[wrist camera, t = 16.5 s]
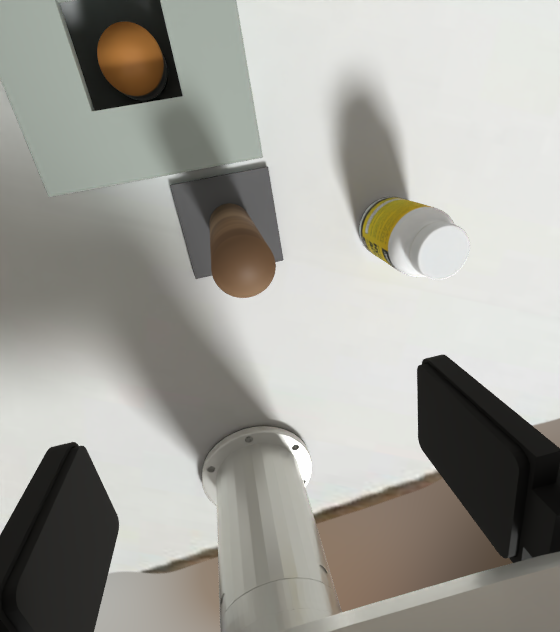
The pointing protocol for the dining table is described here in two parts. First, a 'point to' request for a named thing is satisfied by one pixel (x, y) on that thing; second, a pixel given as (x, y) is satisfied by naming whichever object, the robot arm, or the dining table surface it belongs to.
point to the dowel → (239, 253)
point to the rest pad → (213, 192)
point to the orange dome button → (132, 61)
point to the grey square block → (133, 120)
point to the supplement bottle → (414, 238)
